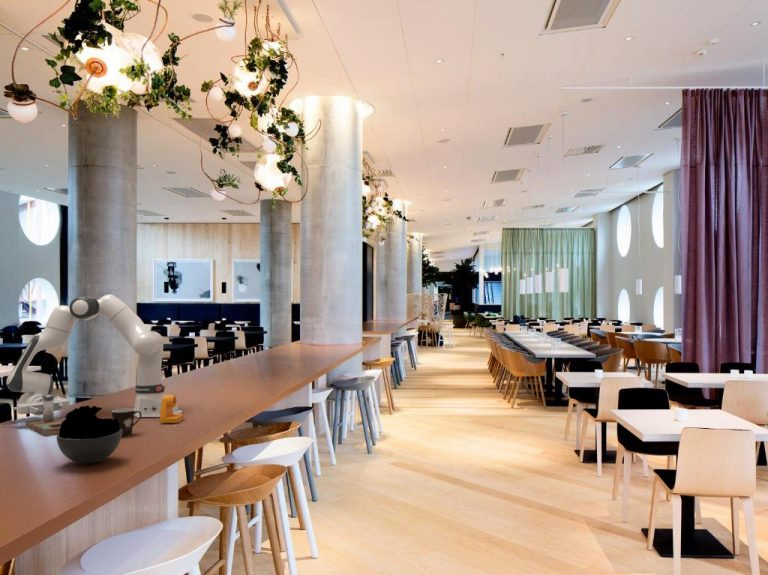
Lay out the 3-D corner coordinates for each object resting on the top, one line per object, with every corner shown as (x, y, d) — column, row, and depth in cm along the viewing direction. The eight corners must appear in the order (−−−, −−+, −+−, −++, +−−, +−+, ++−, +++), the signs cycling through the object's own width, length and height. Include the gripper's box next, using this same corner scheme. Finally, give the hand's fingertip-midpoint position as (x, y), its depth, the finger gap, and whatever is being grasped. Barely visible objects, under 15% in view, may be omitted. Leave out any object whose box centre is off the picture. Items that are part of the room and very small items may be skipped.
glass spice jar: (57, 420, 270) (57, 394, 270) (49, 422, 265) (49, 396, 265) (47, 420, 271) (47, 394, 271) (39, 422, 266) (39, 396, 266)
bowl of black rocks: (92, 453, 223) (92, 400, 223) (135, 458, 215) (135, 403, 215) (42, 467, 204) (42, 409, 205) (87, 473, 197) (87, 414, 197)
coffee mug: (112, 438, 246) (112, 413, 246) (110, 434, 253) (110, 409, 254) (143, 435, 251) (143, 410, 251) (141, 431, 259) (141, 407, 259)
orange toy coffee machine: (176, 424, 273) (176, 397, 273) (159, 424, 273) (159, 397, 273) (184, 419, 283) (184, 393, 284) (168, 419, 283) (168, 393, 284)
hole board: (26, 427, 267) (26, 421, 267) (61, 422, 277) (61, 416, 277) (44, 436, 250) (44, 429, 250) (81, 431, 260) (81, 424, 260)
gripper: (12, 400, 270) (22, 404, 260) (62, 395, 285) (73, 398, 275) (12, 415, 270) (22, 419, 260) (62, 409, 285) (73, 412, 275)
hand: (49, 408), depth 268 cm, fingers open, 8 cm apart
